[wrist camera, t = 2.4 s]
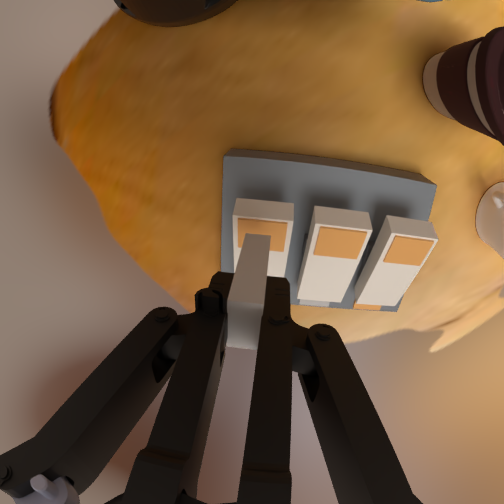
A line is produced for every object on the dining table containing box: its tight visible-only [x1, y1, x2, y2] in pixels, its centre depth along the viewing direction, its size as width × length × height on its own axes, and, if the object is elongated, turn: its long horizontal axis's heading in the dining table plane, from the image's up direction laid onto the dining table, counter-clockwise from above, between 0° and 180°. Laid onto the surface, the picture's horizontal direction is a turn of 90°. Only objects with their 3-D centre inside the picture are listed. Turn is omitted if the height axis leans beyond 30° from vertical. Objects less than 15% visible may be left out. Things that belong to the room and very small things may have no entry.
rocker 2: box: [297, 206, 373, 303], centre depth 26 cm, size 10×4×2 cm, turn 179°
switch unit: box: [221, 149, 437, 312], centre depth 30 cm, size 15×20×5 cm
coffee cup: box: [423, 27, 504, 146], centre depth 16 cm, size 10×10×15 cm
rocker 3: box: [354, 215, 438, 306], centre depth 26 cm, size 10×4×2 cm, turn 179°
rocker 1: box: [232, 198, 294, 277], centre depth 26 cm, size 10×4×2 cm, turn 179°
